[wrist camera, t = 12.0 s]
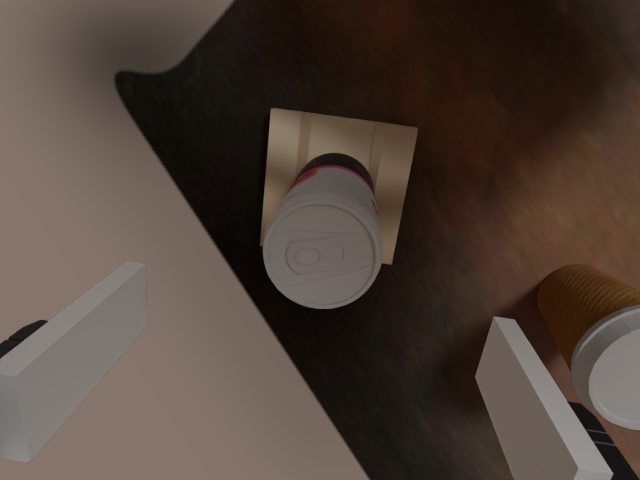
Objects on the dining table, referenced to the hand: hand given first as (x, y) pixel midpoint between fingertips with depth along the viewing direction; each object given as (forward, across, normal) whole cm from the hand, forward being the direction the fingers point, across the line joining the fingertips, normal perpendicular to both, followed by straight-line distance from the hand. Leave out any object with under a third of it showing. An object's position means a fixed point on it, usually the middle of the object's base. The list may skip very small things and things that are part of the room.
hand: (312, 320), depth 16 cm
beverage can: (+22, 0, 0) cm, 22 cm away
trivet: (+23, 0, 0) cm, 23 cm away
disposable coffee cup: (+24, +23, -8) cm, 33 cm away
